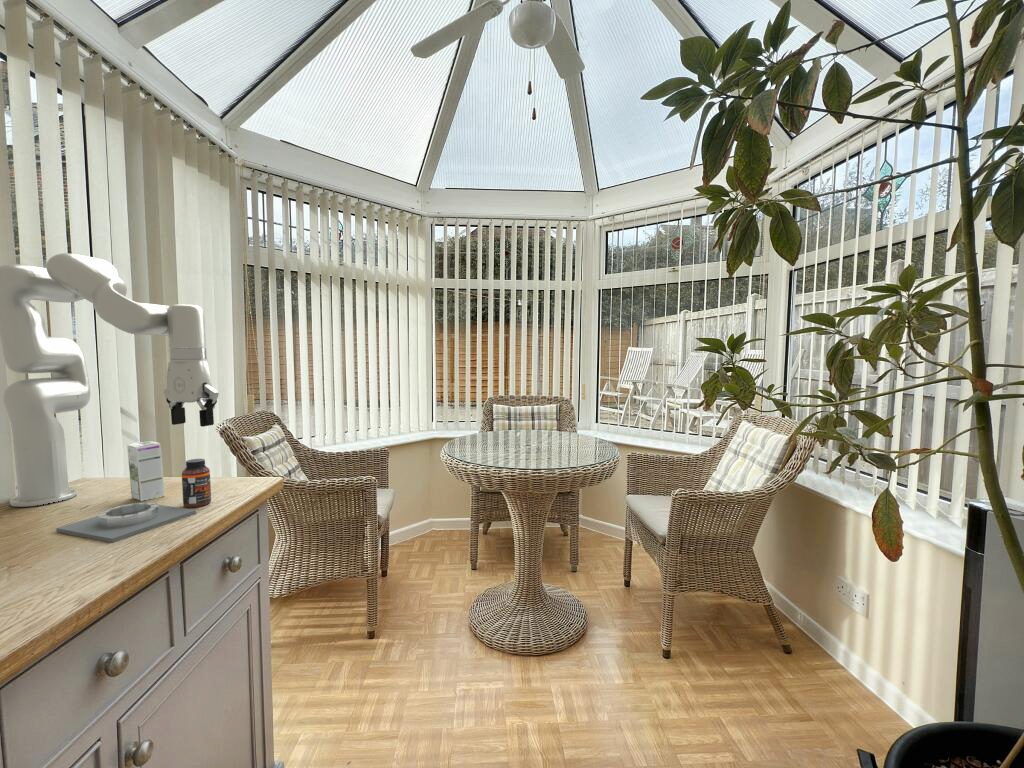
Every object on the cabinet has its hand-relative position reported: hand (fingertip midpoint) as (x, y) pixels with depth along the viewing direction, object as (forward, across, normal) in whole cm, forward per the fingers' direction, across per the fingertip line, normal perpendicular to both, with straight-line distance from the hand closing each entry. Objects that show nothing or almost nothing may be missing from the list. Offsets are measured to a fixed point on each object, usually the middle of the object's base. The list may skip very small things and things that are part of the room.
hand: (192, 424), depth 120 cm
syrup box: (+20, -18, 0) cm, 27 cm away
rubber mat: (+20, -3, -14) cm, 25 cm away
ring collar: (+20, -3, -14) cm, 25 cm away
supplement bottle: (+20, 0, 0) cm, 21 cm away
